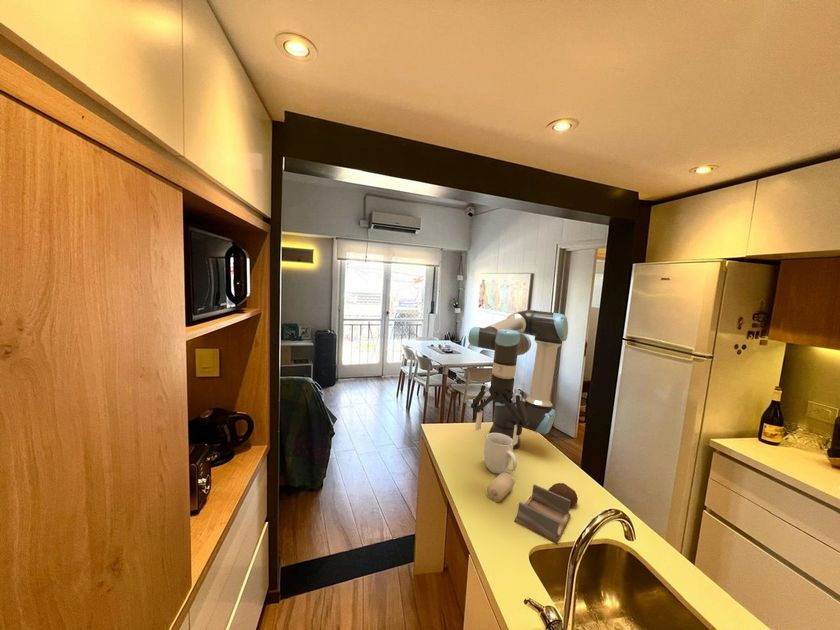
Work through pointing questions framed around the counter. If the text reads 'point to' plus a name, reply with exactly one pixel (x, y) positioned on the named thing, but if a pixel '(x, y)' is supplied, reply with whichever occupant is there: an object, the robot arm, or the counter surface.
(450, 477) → the counter surface
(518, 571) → the counter surface
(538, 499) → the cradle
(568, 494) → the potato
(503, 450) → the mug
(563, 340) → the robot arm
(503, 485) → the roll
